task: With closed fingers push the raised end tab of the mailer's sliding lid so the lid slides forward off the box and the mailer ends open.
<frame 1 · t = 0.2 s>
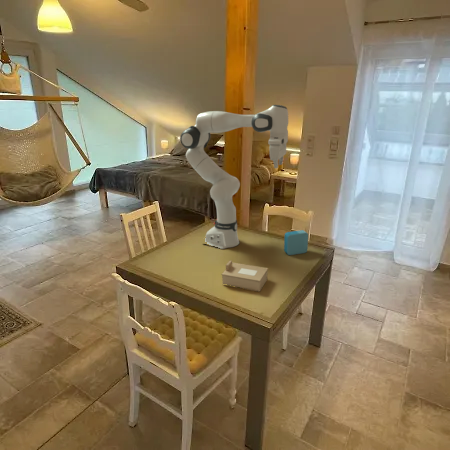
hand: (278, 166, 181), 48 cm above the table, fingers open, 8 cm apart
data package: (295, 252, 194), on the table
lid: (245, 268, 163), point 7 cm above the table, slide at 0.0 cm
mailer: (245, 282, 165), on the table
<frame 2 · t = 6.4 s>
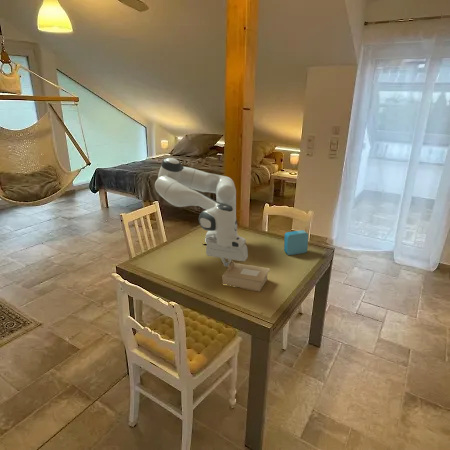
hand: (227, 266, 166), 7 cm above the table, fingers closed
lid: (247, 269, 162), point 7 cm above the table, slide at 1.1 cm, touching gripper
everything else where it was.
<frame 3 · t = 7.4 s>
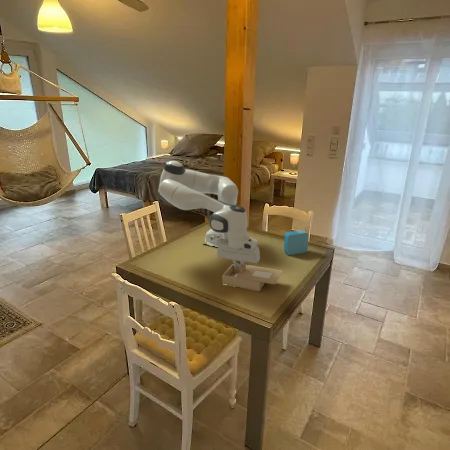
hand: (238, 268, 164), 7 cm above the table, fingers closed
lid: (259, 271, 160), point 7 cm above the table, slide at 7.0 cm, touching gripper
everything else where it was.
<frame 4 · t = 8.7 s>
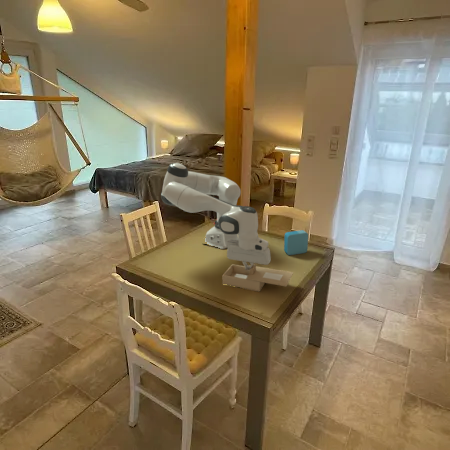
hand: (248, 269, 162), 7 cm above the table, fingers closed
lid: (269, 272, 158), point 7 cm above the table, slide at 12.0 cm, touching gripper
everything else where it was.
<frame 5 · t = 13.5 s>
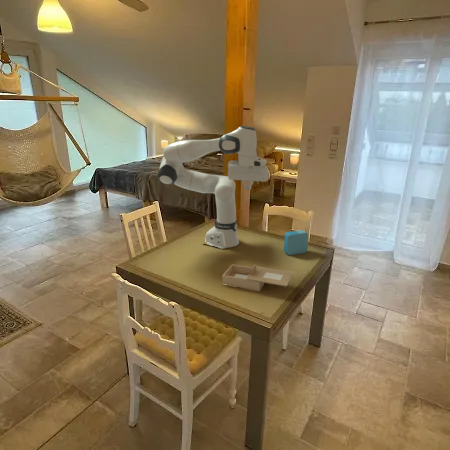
hand: (248, 189, 173), 39 cm above the table, fingers closed
lid: (270, 272, 158), point 7 cm above the table, slide at 12.1 cm
everything else where it was.
at the end: lid slide at 12.1 cm; lid moved 12.1 cm from its start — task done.
